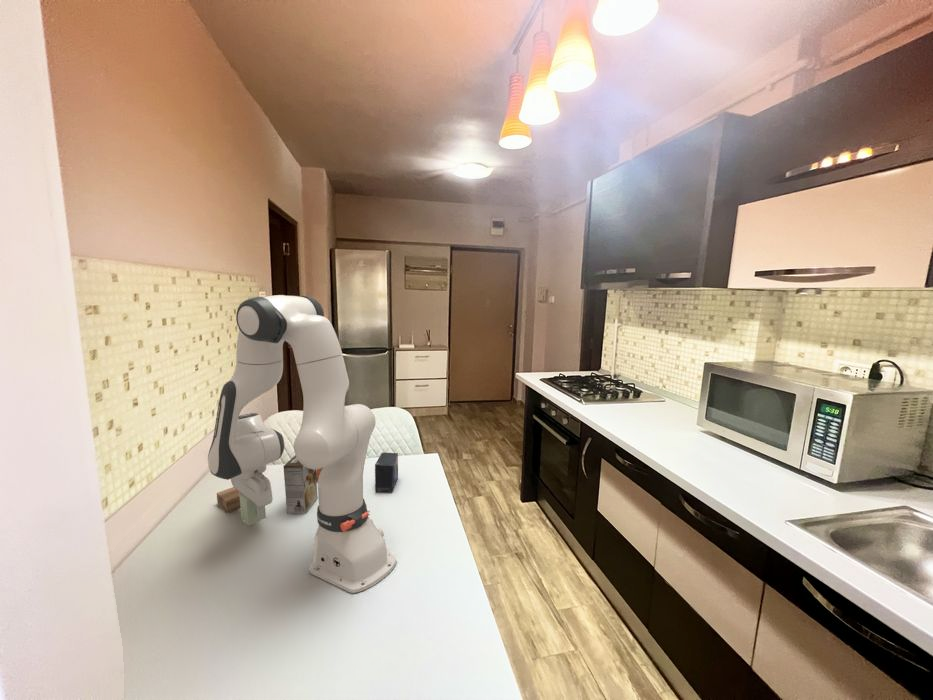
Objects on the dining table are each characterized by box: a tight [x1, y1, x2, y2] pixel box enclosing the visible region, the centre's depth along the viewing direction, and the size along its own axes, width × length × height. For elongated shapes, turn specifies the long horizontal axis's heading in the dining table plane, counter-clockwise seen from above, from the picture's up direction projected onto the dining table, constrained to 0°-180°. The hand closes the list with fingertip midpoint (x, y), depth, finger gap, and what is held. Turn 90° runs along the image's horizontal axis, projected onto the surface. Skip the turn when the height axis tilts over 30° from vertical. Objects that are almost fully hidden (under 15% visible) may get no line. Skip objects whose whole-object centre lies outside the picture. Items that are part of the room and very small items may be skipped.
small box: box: [374, 451, 399, 494], centre depth 136 cm, size 11×6×10 cm, turn 179°
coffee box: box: [283, 455, 318, 515], centre depth 122 cm, size 9×6×16 cm
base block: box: [216, 486, 241, 514], centre depth 124 cm, size 8×8×4 cm
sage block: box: [239, 494, 267, 526], centre depth 116 cm, size 5×5×8 cm
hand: (252, 508), depth 116 cm, fingers open, 8 cm apart
